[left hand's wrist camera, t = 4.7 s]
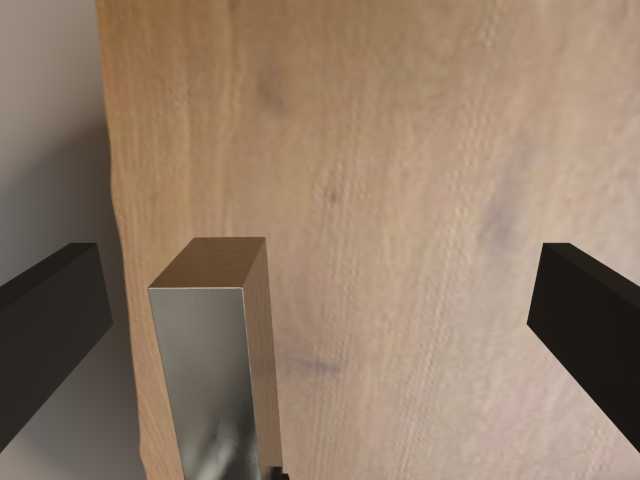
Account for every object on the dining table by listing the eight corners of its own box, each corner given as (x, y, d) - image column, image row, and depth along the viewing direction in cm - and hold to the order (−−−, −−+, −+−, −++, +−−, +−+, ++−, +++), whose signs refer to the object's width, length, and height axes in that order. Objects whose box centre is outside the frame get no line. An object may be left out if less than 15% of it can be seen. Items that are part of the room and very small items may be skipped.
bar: (193, 237, 31) (146, 287, 23) (265, 236, 30) (242, 287, 23) (225, 463, 39) (199, 556, 31) (282, 464, 39) (270, 558, 31)
